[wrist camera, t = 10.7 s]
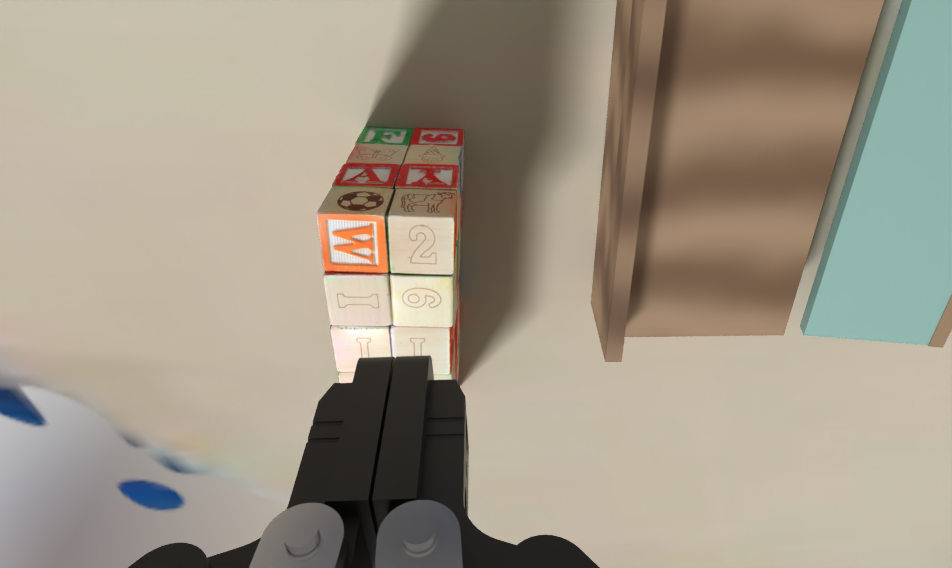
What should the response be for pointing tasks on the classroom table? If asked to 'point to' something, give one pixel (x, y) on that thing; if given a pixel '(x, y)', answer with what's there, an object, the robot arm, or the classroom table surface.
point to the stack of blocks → (395, 249)
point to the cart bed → (719, 160)
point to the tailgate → (896, 199)
